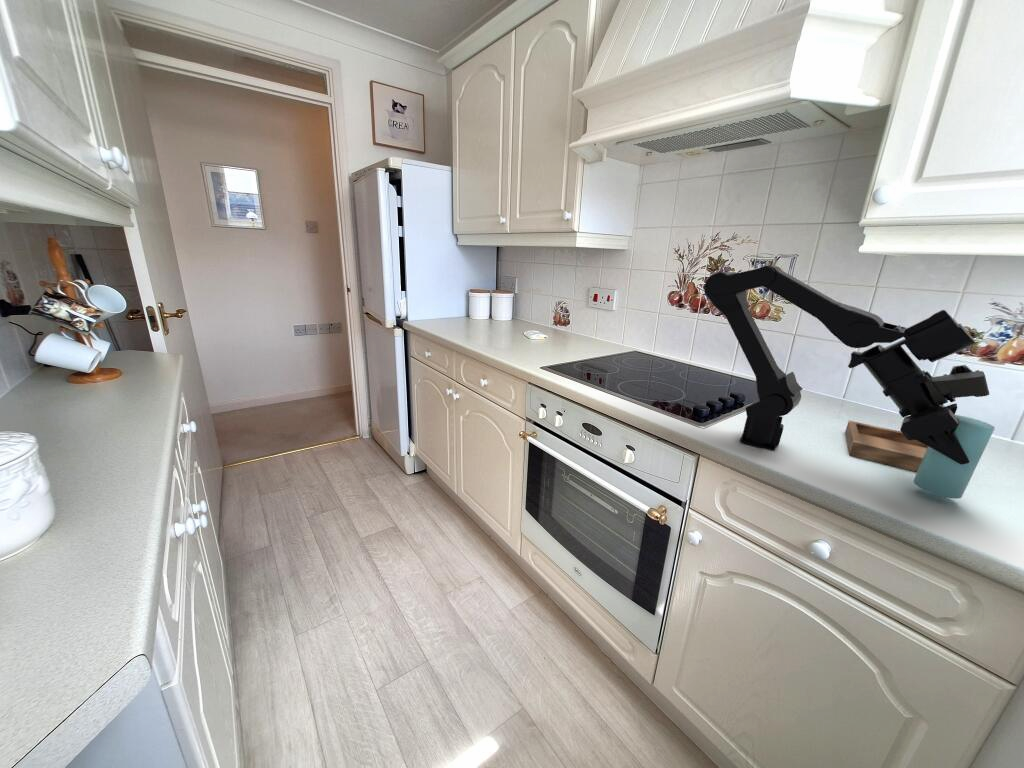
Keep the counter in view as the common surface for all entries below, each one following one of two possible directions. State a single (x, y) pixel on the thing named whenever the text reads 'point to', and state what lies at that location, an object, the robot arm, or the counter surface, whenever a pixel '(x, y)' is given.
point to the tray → (884, 446)
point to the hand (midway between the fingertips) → (964, 457)
